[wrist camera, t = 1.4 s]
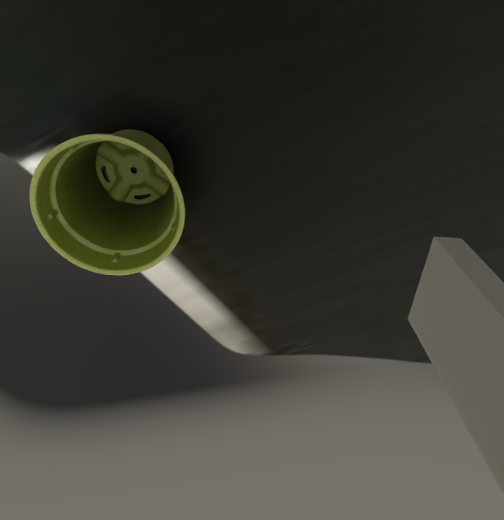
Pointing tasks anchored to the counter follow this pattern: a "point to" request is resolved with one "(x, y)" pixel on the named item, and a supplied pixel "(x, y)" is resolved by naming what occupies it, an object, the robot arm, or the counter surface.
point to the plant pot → (109, 202)
